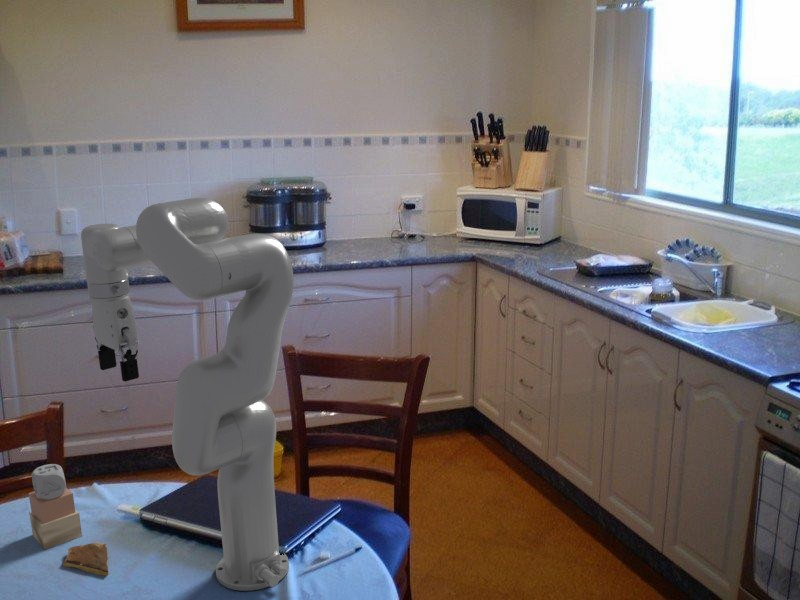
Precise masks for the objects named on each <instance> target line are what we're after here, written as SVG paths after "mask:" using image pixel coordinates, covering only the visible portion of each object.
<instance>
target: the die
mask: <svg viewBox="0 0 800 600" xmlns="http://www.w3.org/2000/svg"><path fill="white" fill-rule="evenodd" d="M31 481H32V486H33V487H32V488H33V492H34V491H35V495H36V497H37V498H38V499H40V500H51V499H55V498H57V497H60V496H61V495H62V494H63V493H64V492H65V491H66V488H67V483H66V477H65V474H64V469H63V468H62V466H61V465H59V464H56V463H49V464H48V463H47V464H43V465H41V466H38V467H36V468H35V469H34V470H33V471H32V472H31Z"/></svg>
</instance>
